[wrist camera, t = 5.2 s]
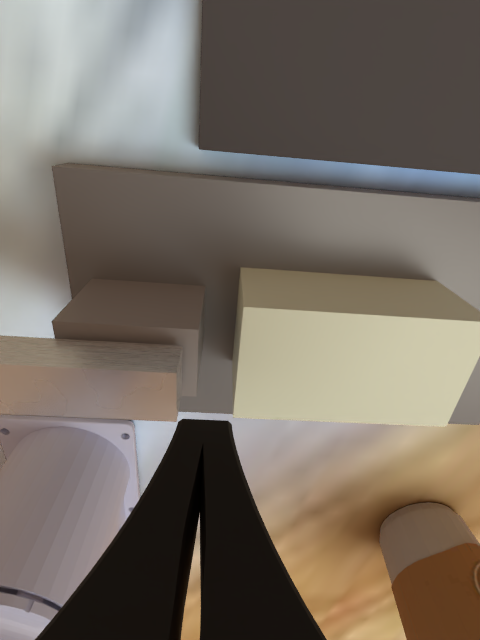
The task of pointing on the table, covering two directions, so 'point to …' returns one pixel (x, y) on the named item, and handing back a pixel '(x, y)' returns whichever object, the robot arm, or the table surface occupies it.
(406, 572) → the coffee cup
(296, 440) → the table surface
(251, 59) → the mat
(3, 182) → the table surface
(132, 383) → the bar
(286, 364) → the cream rectangular block
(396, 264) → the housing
